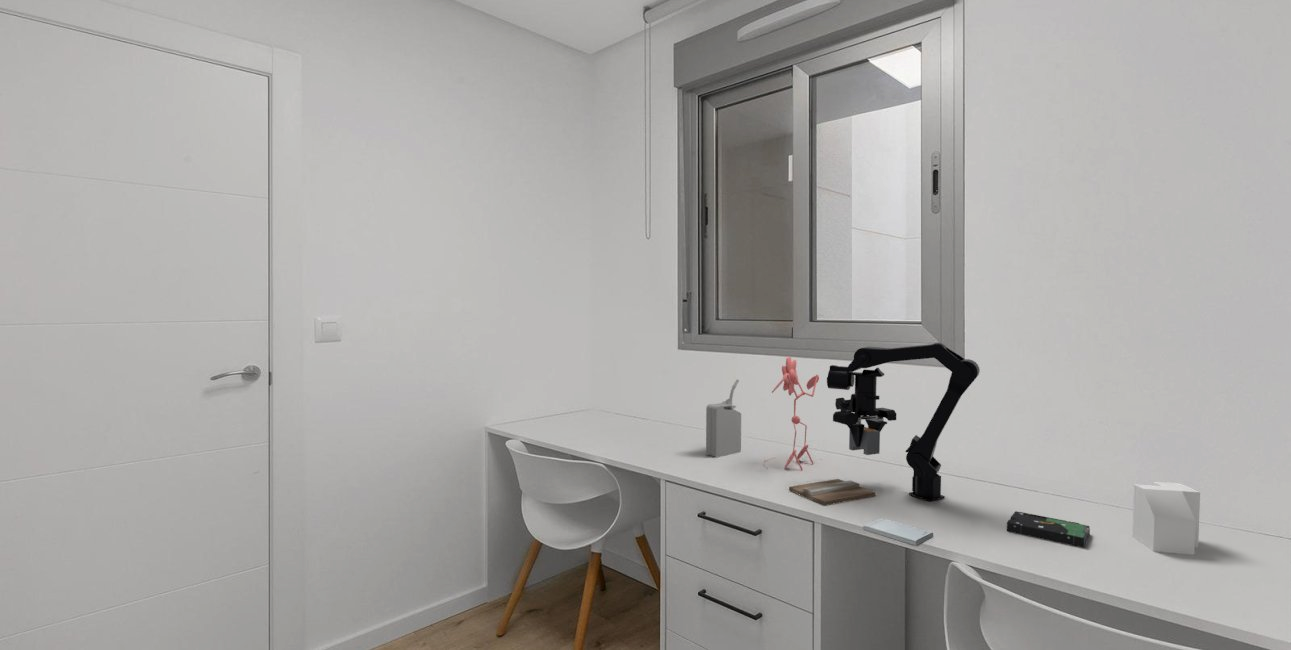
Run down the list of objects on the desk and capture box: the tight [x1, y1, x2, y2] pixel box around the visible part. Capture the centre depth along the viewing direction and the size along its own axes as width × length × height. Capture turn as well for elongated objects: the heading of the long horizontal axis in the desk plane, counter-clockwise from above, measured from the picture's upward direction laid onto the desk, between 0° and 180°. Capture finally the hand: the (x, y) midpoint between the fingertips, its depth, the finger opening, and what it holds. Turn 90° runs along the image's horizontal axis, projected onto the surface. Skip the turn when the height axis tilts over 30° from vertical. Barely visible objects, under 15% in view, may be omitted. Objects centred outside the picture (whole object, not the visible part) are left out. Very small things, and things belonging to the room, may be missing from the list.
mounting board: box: [788, 478, 877, 506], centre depth 168 cm, size 14×18×2 cm
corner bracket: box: [1131, 481, 1201, 555], centre depth 133 cm, size 11×11×12 cm
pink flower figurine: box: [762, 356, 823, 471], centre depth 198 cm, size 15×26×35 cm, turn 143°
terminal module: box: [848, 426, 881, 456], centre depth 173 cm, size 7×4×7 cm, turn 24°
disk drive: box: [1006, 510, 1091, 549], centre depth 139 cm, size 10×3×15 cm
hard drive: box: [862, 517, 934, 546], centre depth 139 cm, size 2×8×12 cm
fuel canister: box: [705, 379, 742, 458], centre depth 212 cm, size 15×5×25 cm, turn 130°
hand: (864, 446), depth 173 cm, fingers closed on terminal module, 4 cm apart
